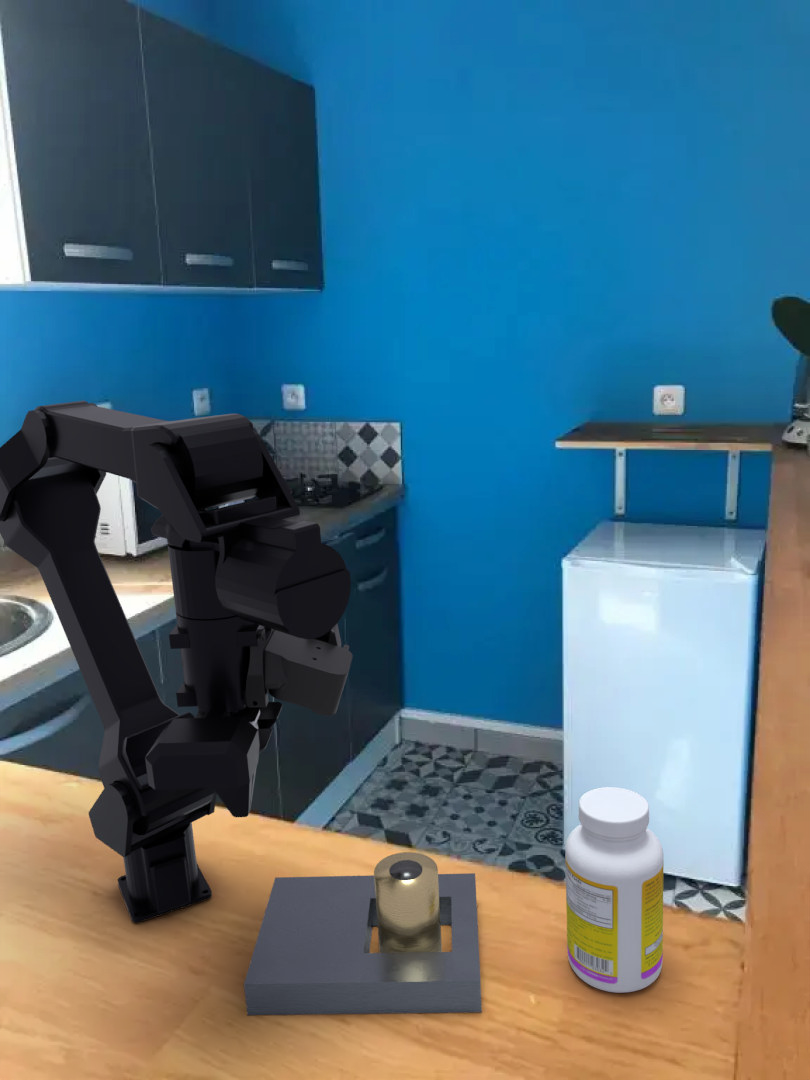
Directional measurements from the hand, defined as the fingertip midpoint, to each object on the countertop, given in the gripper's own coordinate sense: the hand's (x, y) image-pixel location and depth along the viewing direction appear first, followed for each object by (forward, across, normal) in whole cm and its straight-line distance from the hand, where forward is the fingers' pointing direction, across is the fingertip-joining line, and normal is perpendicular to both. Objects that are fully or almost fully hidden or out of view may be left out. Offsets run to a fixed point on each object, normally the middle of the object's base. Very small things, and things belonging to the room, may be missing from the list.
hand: (241, 814), depth 66 cm
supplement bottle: (+12, -1, -26) cm, 29 cm away
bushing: (+12, 0, -11) cm, 17 cm away
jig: (+12, 0, -8) cm, 15 cm away
